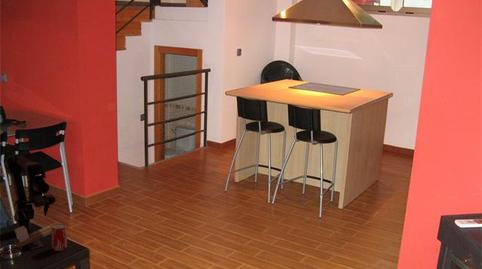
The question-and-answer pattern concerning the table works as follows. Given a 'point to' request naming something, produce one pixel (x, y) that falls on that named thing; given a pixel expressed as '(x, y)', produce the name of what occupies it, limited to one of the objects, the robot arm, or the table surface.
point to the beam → (35, 236)
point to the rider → (22, 234)
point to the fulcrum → (35, 244)
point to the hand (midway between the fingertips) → (35, 217)
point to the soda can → (59, 237)
